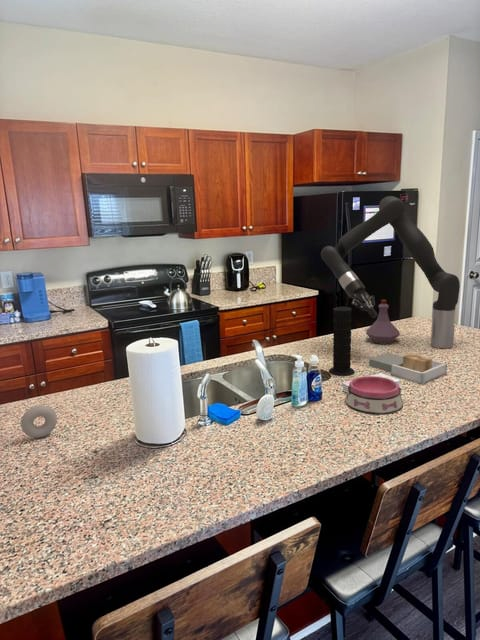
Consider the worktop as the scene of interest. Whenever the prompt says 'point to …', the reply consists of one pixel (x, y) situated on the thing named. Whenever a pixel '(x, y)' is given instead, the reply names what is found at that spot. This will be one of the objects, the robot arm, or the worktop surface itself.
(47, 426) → the donut
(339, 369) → the handle grip
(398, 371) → the tray
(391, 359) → the grey square slab
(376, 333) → the flask
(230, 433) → the worktop surface
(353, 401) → the dog bowl
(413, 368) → the oak block
